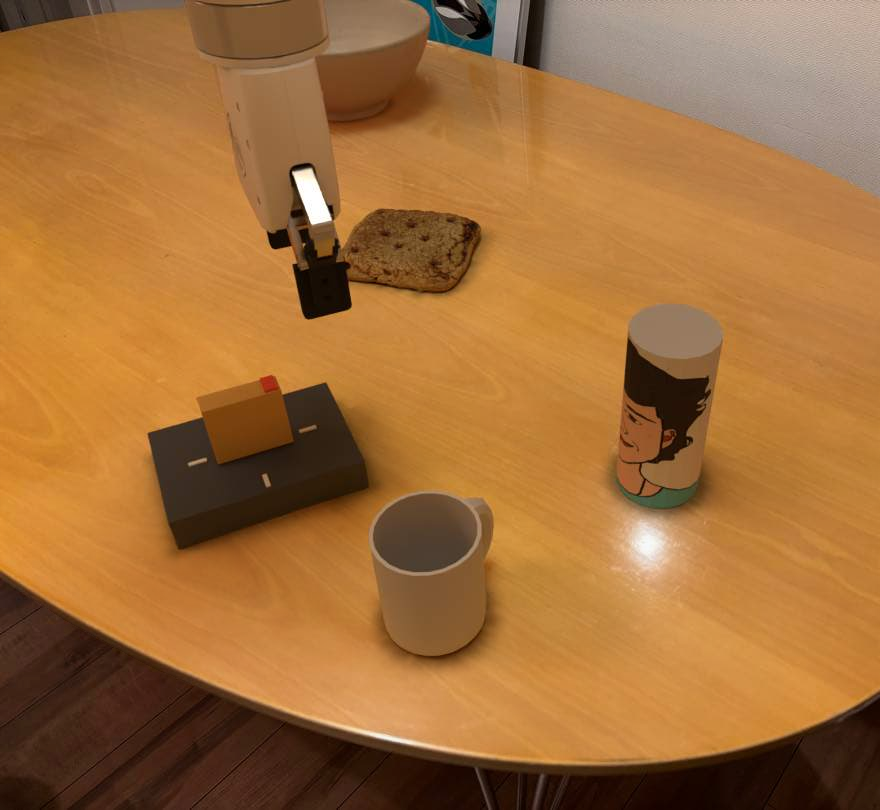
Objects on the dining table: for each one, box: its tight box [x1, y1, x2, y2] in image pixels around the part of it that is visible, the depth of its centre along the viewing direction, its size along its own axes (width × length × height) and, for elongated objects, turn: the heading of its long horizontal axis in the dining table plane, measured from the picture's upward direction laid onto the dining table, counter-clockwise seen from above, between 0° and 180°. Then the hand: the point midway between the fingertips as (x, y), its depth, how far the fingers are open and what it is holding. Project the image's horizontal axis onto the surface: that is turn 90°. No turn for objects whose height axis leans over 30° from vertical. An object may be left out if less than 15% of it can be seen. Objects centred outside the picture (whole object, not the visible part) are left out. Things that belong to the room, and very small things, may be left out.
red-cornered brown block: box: [196, 374, 294, 464], centre depth 69 cm, size 6×2×6 cm, turn 116°
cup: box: [368, 490, 495, 657], centre depth 60 cm, size 7×10×9 cm
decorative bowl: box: [315, 0, 431, 122], centre depth 128 cm, size 27×27×12 cm
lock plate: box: [147, 381, 370, 550], centre depth 72 cm, size 15×11×3 cm
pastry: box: [341, 208, 482, 294], centre depth 98 cm, size 17×17×3 cm
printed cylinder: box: [615, 302, 724, 510], centre depth 68 cm, size 7×7×15 cm
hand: (309, 276), depth 62 cm, fingers open, 9 cm apart
